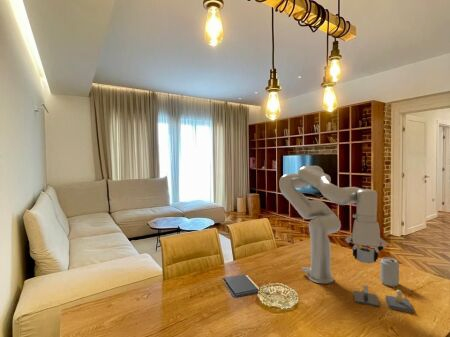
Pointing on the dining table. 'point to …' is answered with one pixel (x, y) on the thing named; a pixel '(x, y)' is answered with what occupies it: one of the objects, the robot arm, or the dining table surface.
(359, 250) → the collar
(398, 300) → the square base with peg
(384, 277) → the can
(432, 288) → the dining table surface
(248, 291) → the dark grey book
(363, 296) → the stand
